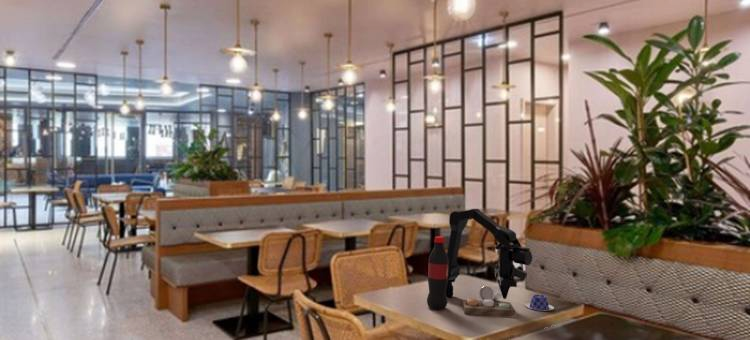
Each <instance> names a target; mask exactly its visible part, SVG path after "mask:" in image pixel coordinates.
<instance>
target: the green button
mask: <svg viewBox="0 0 750 340" xmlns="http://www.w3.org/2000/svg"><path fill="white" fill-rule="evenodd" d="M509 306H510V305H509V304H506V303H499V306H498V307H503V308H509Z"/></svg>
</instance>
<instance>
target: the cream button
mask: <svg viewBox="0 0 750 340" xmlns="http://www.w3.org/2000/svg"><path fill="white" fill-rule="evenodd" d="M482 301H483V306H486V307H493V305H494V301H495V300H494V301H493V300H488V299H485V300H482Z"/></svg>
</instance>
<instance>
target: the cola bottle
mask: <svg viewBox="0 0 750 340" xmlns="http://www.w3.org/2000/svg"><path fill="white" fill-rule="evenodd" d="M433 243H434V246H433V249H432V250H431V252H430V255H429V257H428V261H427V262H428V271H427V273H428V276H427V282H428V283H427V284H428V294H427V297H426V304H427V306H428V308H430V309H431V310H435V311H442V310H445V309H446V308H447V305H448V298H447V296H446V288H447V283H448V263H449V260H448V257H447V251H446V249H445V245H444V243H445V238H444V236H442V235H441V236H440V235H439V236H435V237H434V242H433Z"/></svg>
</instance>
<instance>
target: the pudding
mask: <svg viewBox="0 0 750 340" xmlns="http://www.w3.org/2000/svg"><path fill="white" fill-rule="evenodd" d="M524 306H525V307H526V308H528V309H531V310H536V311H543V312H545V311H553V310H554V309H555V307H554V306H553V305H551V304H549V301H548V297H547V296H546V295H543V294H534V295H532V297H531V301H530V302H526V303H525V304H524Z"/></svg>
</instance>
